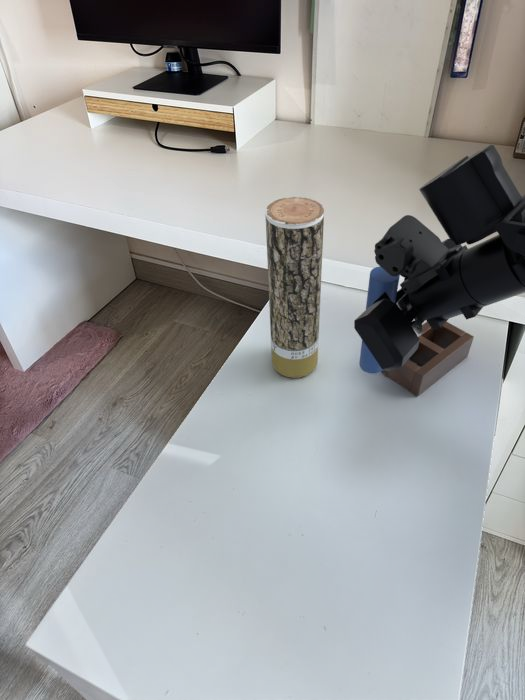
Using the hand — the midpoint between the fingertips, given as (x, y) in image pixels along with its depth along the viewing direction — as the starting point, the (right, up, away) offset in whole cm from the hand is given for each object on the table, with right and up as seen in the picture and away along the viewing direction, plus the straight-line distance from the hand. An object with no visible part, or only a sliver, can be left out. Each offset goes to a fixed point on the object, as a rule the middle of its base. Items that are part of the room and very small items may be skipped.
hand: (367, 321), depth 61 cm
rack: (+11, -6, +13) cm, 18 cm away
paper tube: (-8, -6, +15) cm, 18 cm away
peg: (+1, -5, +4) cm, 7 cm away
